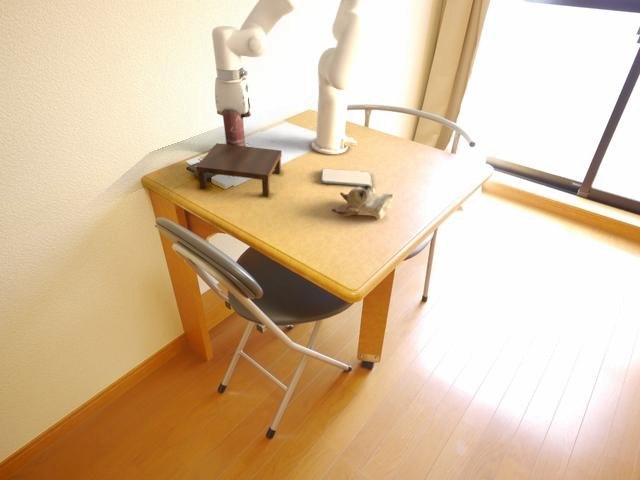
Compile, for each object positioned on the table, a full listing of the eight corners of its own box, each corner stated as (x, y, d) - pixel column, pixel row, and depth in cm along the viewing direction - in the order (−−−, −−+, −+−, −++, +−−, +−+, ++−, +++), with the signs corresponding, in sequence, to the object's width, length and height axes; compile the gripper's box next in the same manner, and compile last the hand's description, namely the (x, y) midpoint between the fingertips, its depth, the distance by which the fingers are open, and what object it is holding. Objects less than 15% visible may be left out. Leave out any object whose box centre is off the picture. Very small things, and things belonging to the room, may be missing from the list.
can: (247, 145, 136) (244, 104, 128) (243, 153, 131) (238, 110, 123) (230, 144, 137) (225, 102, 128) (224, 152, 132) (219, 109, 123)
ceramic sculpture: (391, 199, 97) (330, 191, 101) (387, 229, 102) (330, 220, 106) (397, 179, 106) (341, 172, 109) (393, 208, 111) (340, 200, 114)
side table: (281, 171, 125) (281, 150, 121) (268, 197, 112) (268, 175, 108) (218, 164, 127) (216, 143, 122) (199, 189, 114) (195, 166, 110)
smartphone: (372, 184, 119) (321, 180, 119) (371, 187, 120) (321, 183, 120) (370, 171, 126) (322, 167, 126) (369, 174, 126) (321, 170, 126)
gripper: (258, 72, 122) (261, 130, 133) (210, 68, 123) (217, 127, 134) (250, 79, 116) (255, 139, 127) (200, 75, 117) (209, 135, 128)
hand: (236, 133), depth 131 cm, fingers closed
